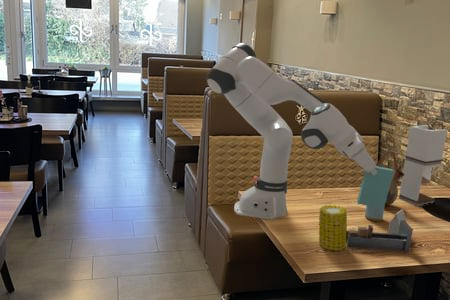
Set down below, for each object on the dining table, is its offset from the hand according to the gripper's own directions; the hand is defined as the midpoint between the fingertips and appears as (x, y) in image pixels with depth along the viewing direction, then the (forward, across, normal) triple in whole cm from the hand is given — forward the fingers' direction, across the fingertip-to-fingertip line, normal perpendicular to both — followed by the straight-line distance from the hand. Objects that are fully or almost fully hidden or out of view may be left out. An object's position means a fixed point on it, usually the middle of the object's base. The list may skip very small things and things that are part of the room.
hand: (373, 171), depth 150 cm
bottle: (+27, -25, -12) cm, 39 cm away
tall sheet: (+9, 0, -8) cm, 12 cm away
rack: (+22, +1, -17) cm, 28 cm away
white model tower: (+46, -51, +7) cm, 69 cm away
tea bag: (+30, -9, -9) cm, 32 cm away
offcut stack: (+18, +1, -20) cm, 27 cm away
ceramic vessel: (+33, -43, -6) cm, 55 cm away
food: (+11, +3, -28) cm, 30 cm away
